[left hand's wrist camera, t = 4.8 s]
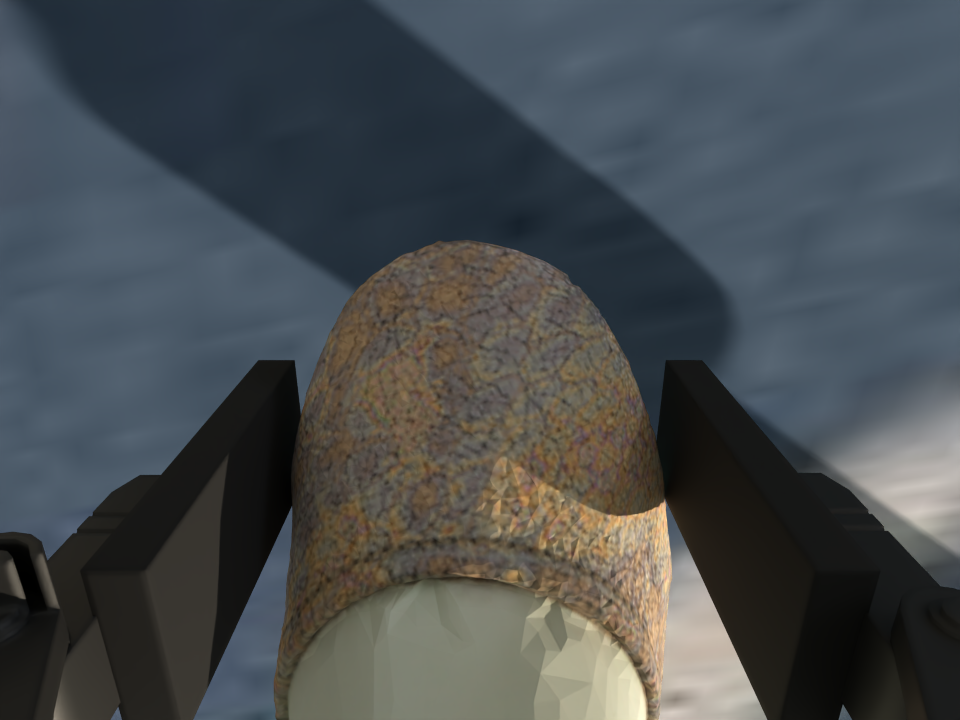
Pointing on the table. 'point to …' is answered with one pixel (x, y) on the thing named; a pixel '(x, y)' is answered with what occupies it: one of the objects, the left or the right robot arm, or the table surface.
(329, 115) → the table surface
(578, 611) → the ballet flat
